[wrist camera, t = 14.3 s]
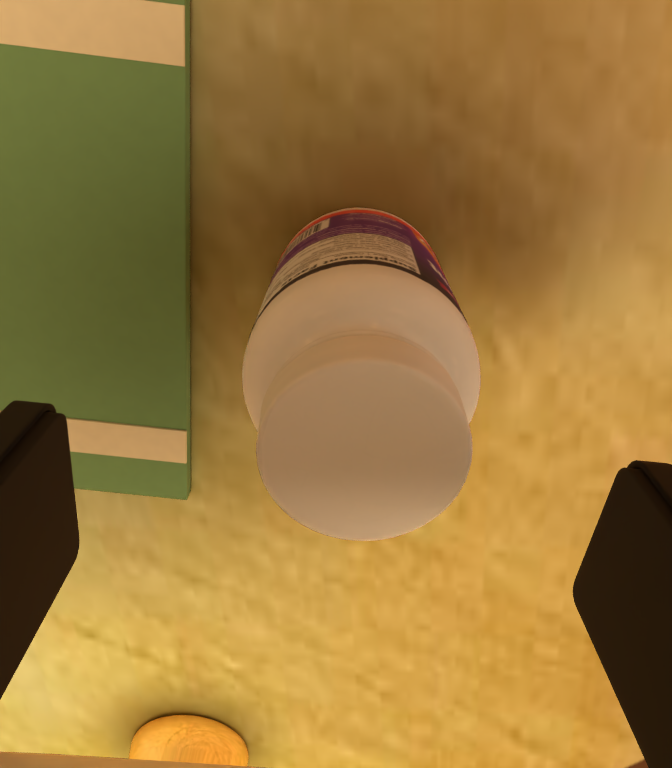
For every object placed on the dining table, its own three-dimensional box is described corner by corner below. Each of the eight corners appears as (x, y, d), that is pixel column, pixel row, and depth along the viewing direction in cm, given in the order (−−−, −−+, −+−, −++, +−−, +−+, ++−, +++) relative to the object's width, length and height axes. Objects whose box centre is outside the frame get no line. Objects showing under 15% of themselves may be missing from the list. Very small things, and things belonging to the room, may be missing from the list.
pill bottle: (439, 359, 21) (501, 567, 12) (283, 366, 21) (235, 573, 12) (444, 198, 18) (526, 314, 10) (267, 207, 18) (192, 328, 10)
